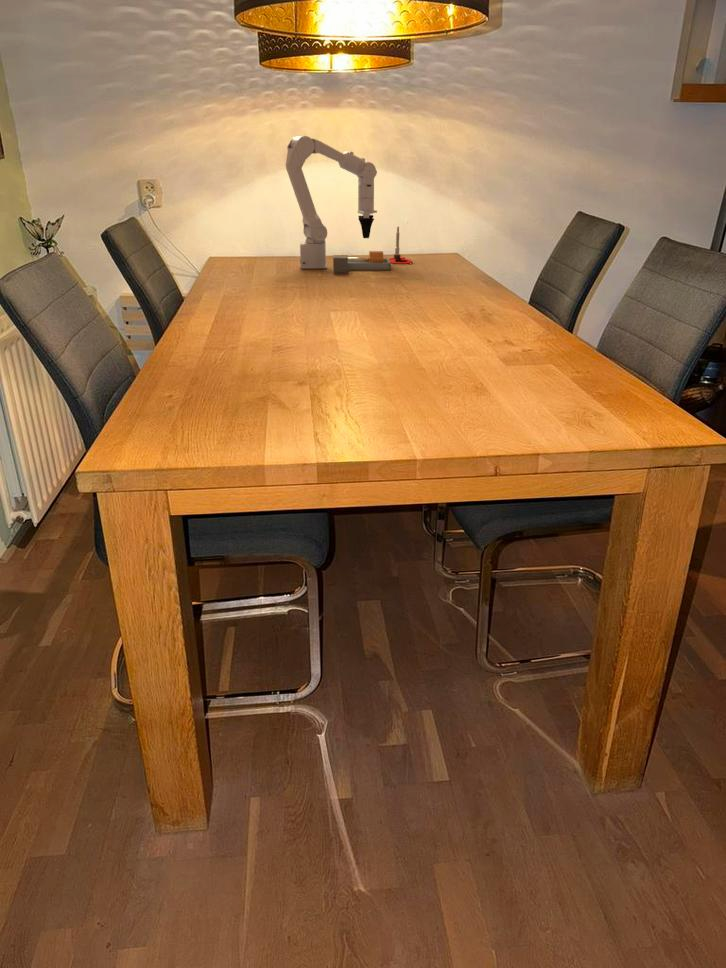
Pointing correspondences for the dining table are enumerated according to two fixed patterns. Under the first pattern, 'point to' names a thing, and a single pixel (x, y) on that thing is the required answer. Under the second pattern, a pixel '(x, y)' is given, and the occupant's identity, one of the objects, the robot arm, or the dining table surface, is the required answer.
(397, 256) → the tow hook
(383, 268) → the tray
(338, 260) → the block
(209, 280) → the dining table surface
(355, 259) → the hitch pin
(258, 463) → the dining table surface
